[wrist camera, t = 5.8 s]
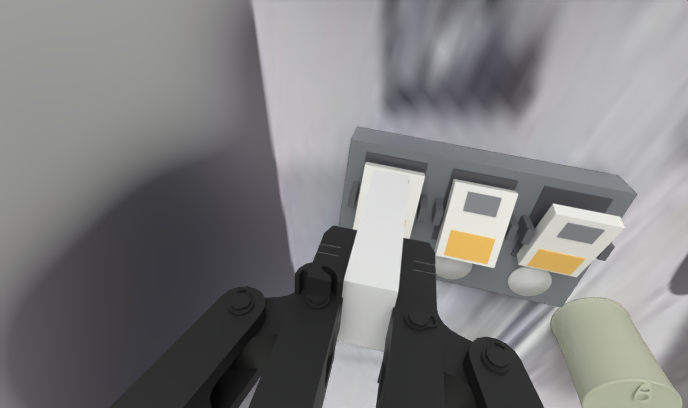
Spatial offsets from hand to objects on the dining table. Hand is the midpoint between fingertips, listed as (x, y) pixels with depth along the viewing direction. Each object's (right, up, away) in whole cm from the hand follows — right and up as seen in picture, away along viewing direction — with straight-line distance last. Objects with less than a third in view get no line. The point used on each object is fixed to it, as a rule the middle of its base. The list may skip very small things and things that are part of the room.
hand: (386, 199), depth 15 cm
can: (+31, -16, +32) cm, 48 cm away
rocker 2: (+20, -4, +20) cm, 28 cm away
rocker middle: (+11, -2, +20) cm, 23 cm away
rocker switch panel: (+12, -1, +27) cm, 30 cm away
